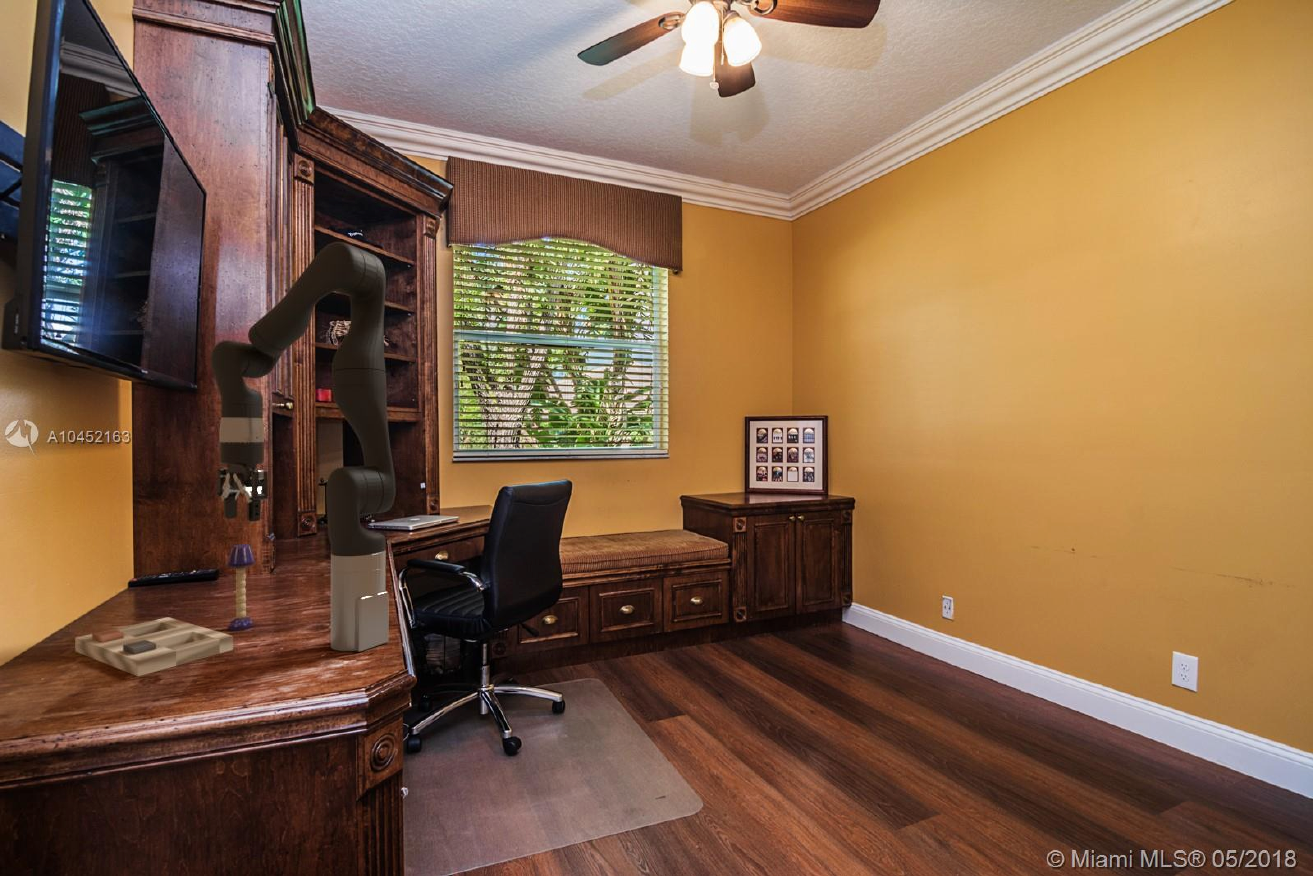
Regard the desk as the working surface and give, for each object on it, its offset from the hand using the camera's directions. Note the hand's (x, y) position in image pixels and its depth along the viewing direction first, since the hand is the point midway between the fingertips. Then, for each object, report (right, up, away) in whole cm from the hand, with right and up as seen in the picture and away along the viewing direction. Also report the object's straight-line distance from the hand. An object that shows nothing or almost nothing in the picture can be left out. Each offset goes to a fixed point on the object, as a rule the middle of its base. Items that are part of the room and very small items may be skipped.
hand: (241, 519), depth 122 cm
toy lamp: (0, -22, 0) cm, 22 cm away
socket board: (-6, -22, -14) cm, 27 cm away
